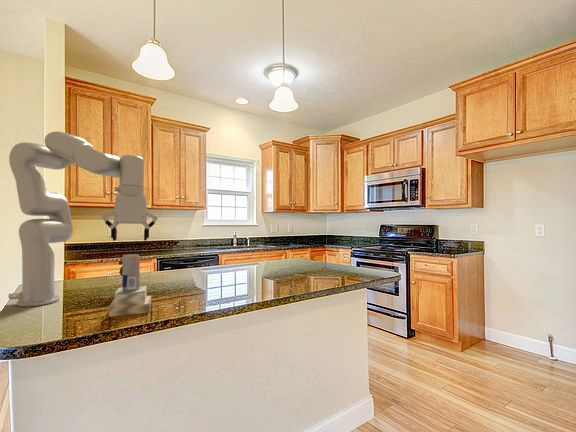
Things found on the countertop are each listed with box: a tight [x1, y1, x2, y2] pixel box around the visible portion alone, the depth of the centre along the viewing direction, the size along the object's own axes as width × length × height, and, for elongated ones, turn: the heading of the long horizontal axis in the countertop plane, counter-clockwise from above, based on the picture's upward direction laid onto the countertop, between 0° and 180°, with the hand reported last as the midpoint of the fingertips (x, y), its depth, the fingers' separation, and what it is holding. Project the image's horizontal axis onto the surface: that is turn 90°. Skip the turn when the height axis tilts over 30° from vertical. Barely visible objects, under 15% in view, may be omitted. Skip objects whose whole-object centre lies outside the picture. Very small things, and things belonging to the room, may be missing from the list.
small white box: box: [108, 285, 152, 317], centre depth 109 cm, size 12×12×7 cm
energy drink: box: [121, 253, 141, 291], centre depth 109 cm, size 5×5×12 cm
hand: (130, 240), depth 109 cm, fingers open, 9 cm apart
